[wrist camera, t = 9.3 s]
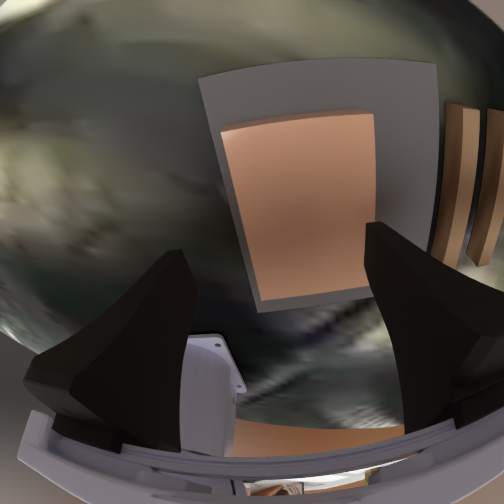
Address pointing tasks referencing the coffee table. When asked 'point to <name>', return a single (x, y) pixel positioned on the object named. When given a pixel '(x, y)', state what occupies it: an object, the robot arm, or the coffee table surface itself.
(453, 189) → the rack
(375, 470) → the ceramic cup
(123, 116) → the coffee table surface
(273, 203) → the tile
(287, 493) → the cake mix box
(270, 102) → the mat
